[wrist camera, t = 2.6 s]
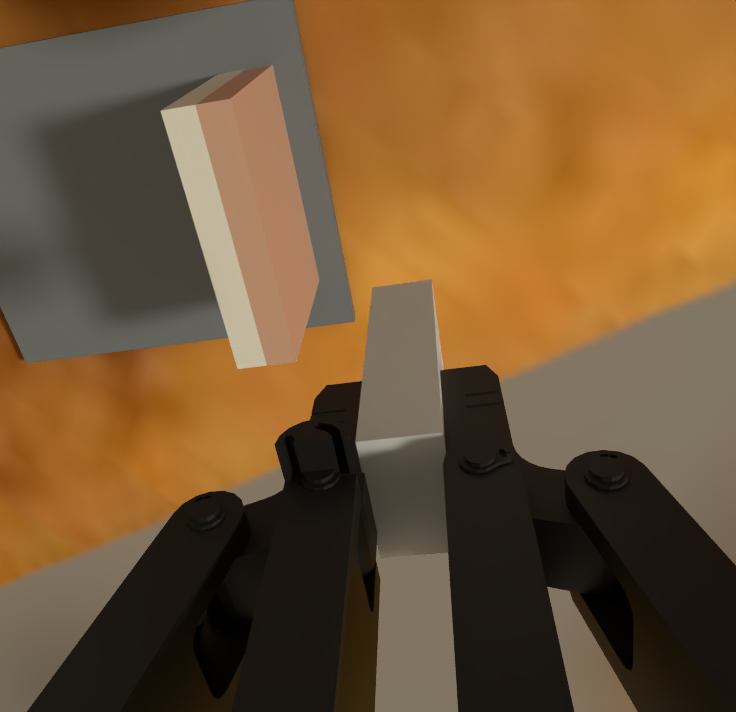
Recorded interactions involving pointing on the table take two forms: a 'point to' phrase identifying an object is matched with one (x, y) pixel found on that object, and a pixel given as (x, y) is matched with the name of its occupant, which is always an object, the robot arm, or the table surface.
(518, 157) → the table surface
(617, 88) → the table surface
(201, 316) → the mat
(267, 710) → the robot arm
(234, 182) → the tile
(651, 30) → the table surface
